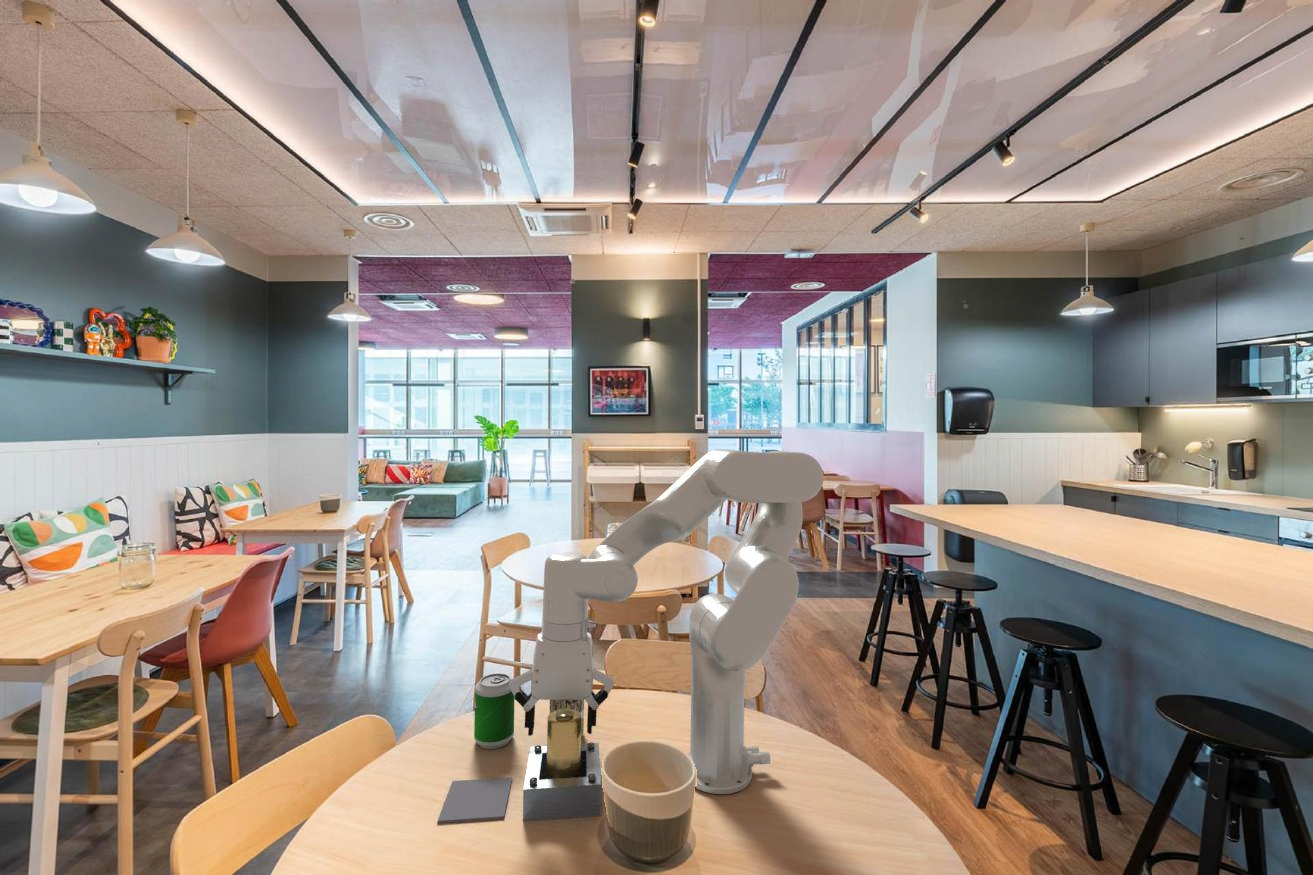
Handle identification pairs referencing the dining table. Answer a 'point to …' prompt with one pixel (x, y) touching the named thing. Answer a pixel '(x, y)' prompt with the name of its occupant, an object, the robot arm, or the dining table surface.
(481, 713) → the soda can
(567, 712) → the tan cylinder
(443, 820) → the rubber mat
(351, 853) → the dining table surface
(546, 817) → the housing
